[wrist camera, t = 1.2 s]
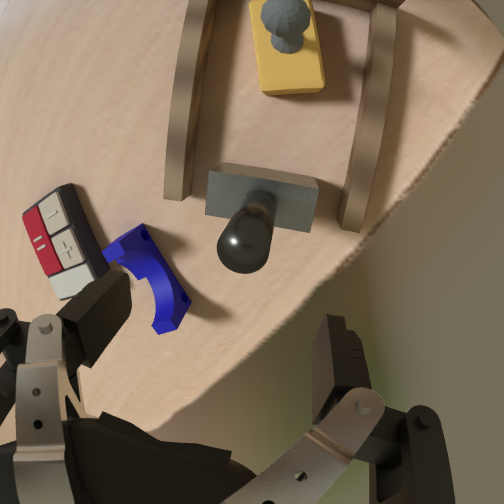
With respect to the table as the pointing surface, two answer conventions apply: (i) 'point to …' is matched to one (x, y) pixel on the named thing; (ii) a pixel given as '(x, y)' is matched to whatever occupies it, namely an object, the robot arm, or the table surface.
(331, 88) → the table surface
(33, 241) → the calculator
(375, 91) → the frame
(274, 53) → the rubber stamp
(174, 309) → the blue pipe saddle
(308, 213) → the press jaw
